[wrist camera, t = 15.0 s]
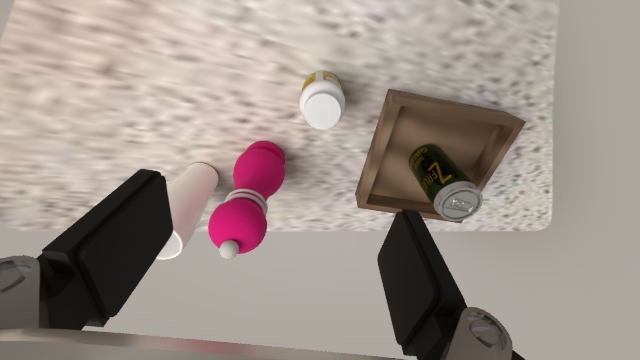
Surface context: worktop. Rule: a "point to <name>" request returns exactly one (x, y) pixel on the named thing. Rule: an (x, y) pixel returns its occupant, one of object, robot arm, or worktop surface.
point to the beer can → (445, 183)
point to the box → (438, 129)
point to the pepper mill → (248, 200)
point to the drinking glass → (188, 205)
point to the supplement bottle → (322, 100)
